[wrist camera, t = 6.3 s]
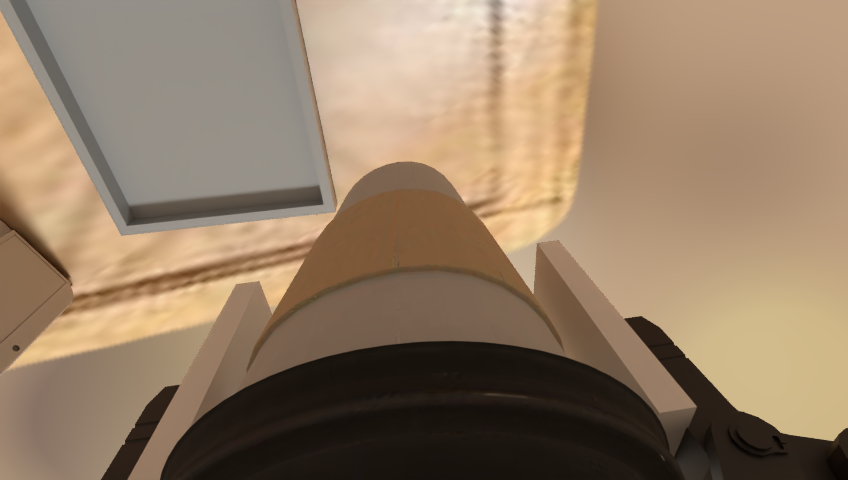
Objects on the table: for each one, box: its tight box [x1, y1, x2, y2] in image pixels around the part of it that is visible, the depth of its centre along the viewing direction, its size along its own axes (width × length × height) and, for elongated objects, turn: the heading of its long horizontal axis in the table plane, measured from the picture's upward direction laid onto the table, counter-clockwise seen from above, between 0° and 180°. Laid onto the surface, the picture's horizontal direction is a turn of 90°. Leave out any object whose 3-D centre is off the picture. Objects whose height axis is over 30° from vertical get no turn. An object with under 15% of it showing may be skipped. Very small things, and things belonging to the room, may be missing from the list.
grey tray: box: [0, 0, 337, 236], centre depth 28 cm, size 18×18×2 cm
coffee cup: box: [160, 162, 686, 480], centre depth 12 cm, size 9×9×15 cm
